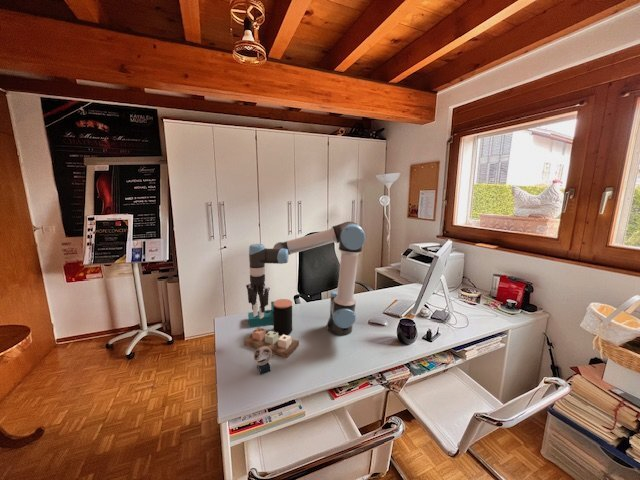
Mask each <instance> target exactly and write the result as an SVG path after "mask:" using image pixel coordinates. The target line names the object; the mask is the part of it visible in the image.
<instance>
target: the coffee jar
mask: <svg viewBox="0 0 640 480" xmlns="http://www.w3.org/2000/svg"><path fill="white" fill-rule="evenodd" d="M273 305H274V307H273V324H272V325H273V332H277V333H278V335H281V336H282V335H283V334H284V335H287V336H290V334H292V332H293V302H292V300H290V299H287V298H280V299H279V298H278V299H277V300H274V303H273Z"/></svg>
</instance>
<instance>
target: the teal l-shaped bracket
mask: <svg viewBox="0 0 640 480" xmlns="http://www.w3.org/2000/svg"><path fill="white" fill-rule="evenodd" d="M274 301H275V300H274ZM274 301H273V300H272V301H271V302H270V304H271V305H270V306H271V307H270V308H271V309H267V310H266V309H265V312H264V317H263V318H261V319H260V315H259V311H258V315H257V316H256V317H253V311H252V312H248V313H247V314H248V315H247V317H248V326H249V328H255V327H256V328H258V327H262V326H263V327H264V326H270V325H273V307H274V305H273V303H274Z"/></svg>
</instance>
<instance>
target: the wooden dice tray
mask: <svg viewBox="0 0 640 480" xmlns="http://www.w3.org/2000/svg"><path fill="white" fill-rule="evenodd" d="M268 332H269V331H267V330H266V334H267V333H268ZM280 337H281V335H278V339H279V338H280ZM243 342H244V346H246V347H249V348H252V349H254V350H257V349H258V348H260V347H263V346H268V347H269V348H270V349H271V351H272V356H276V357H278V358H279V357H280V358H283V359H286V360H288V358H289V357H291V355H292V354H293V353H294V352H295V351H296V350H297V349H298V347H300V340H299V339H298V340H297V339H294V338H291V345H290V346H289V347H288V348H287V349H285V348H282V347H278V341H277V342H276V343H274V344H273V345H272V344H269V343H265V337H264V338H263V339H262V340H261V341H259V340H256V339H253V338H252V334H250V335H249V336H248V337H247V338H245V339H244V341H243ZM269 351H270V350H269V349H265V350H263V352H264V353H268V354H269Z"/></svg>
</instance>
